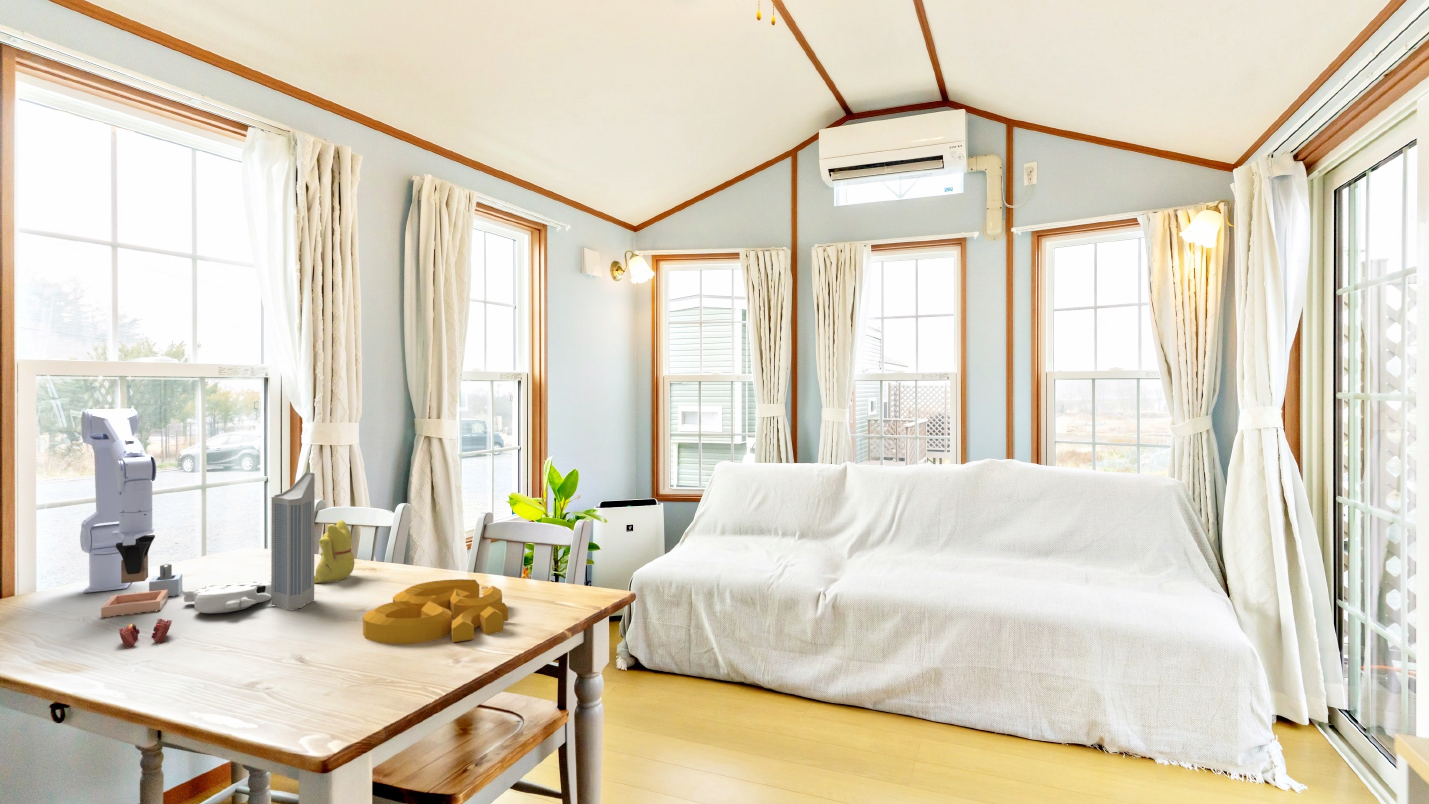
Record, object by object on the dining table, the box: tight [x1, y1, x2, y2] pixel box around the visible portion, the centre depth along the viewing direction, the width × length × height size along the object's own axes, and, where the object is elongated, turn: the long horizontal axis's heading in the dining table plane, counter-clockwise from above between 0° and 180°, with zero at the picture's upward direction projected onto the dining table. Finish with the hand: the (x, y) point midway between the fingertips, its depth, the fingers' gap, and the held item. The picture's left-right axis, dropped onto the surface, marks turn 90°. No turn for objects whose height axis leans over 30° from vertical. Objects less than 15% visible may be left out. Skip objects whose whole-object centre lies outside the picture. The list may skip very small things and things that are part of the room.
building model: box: [270, 471, 316, 611], centre depth 159 cm, size 8×8×30 cm
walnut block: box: [121, 555, 149, 584], centre depth 155 cm, size 4×4×5 cm
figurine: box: [314, 519, 355, 584], centre depth 179 cm, size 11×9×15 cm
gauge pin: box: [159, 563, 173, 580], centre depth 165 cm, size 2×2×7 cm
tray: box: [100, 590, 169, 619], centre depth 155 cm, size 10×10×2 cm
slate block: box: [148, 573, 183, 597], centre depth 166 cm, size 6×6×4 cm
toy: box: [182, 581, 271, 614], centre depth 158 cm, size 22×5×20 cm
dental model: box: [118, 618, 173, 649], centre depth 136 cm, size 6×4×8 cm
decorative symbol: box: [362, 578, 509, 645], centre depth 150 cm, size 30×5×30 cm
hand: (136, 571), depth 155 cm, fingers closed on walnut block, 4 cm apart
